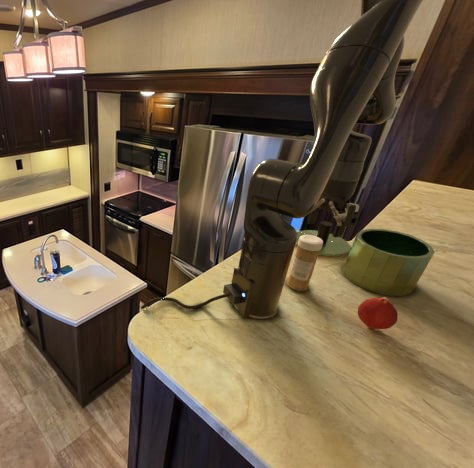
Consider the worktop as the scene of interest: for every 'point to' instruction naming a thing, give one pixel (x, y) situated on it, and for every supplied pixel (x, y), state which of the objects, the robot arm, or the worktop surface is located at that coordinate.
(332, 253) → the bin lid
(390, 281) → the bin
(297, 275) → the sprinkles bottle
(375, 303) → the onion
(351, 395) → the worktop surface
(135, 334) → the worktop surface
